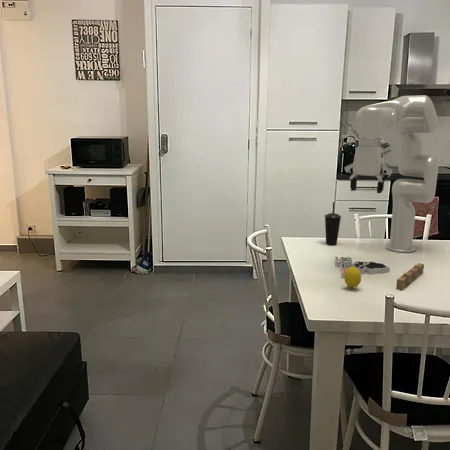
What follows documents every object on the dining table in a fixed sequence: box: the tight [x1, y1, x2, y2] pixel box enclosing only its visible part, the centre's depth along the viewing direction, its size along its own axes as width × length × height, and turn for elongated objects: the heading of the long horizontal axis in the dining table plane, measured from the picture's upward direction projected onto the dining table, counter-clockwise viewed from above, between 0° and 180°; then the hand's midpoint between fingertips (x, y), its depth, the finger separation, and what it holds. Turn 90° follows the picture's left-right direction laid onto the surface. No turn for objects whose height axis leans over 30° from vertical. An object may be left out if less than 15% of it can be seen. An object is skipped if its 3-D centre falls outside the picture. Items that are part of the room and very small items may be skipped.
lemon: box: [343, 266, 362, 290], centre depth 156 cm, size 6×6×8 cm
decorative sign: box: [334, 256, 390, 280], centre depth 176 cm, size 22×2×20 cm
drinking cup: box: [324, 201, 342, 247], centre depth 212 cm, size 8×8×20 cm
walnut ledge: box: [395, 262, 425, 291], centre depth 165 cm, size 24×2×4 cm, turn 141°
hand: (366, 191), depth 166 cm, fingers open, 9 cm apart
